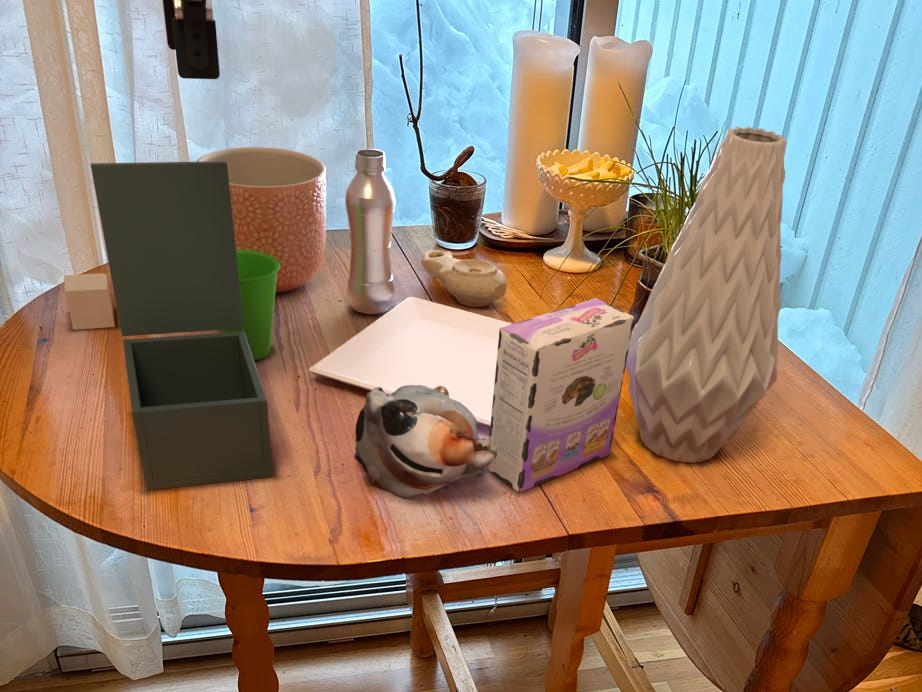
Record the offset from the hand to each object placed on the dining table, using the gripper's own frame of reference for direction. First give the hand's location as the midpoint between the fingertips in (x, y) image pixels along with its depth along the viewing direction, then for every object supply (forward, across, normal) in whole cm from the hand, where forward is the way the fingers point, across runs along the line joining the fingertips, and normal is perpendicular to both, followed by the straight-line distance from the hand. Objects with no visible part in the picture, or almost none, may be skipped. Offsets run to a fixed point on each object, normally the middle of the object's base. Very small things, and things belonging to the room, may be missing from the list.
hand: (193, 63), depth 79 cm
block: (+36, -33, -13) cm, 50 cm away
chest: (+36, 0, -3) cm, 36 cm away
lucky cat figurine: (+36, +11, +19) cm, 42 cm away
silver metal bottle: (+36, -31, +23) cm, 52 cm away
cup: (+36, -21, +5) cm, 42 cm away
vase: (+35, +10, +50) cm, 62 cm away
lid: (+18, -8, -3) cm, 20 cm away
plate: (+36, -12, +29) cm, 47 cm away
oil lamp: (+36, -34, +37) cm, 61 cm away
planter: (+36, -43, +11) cm, 57 cm away
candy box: (+36, +11, +33) cm, 50 cm away
